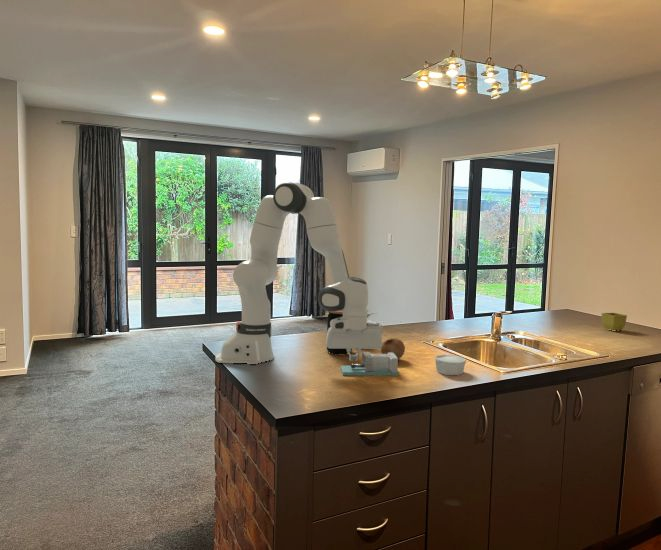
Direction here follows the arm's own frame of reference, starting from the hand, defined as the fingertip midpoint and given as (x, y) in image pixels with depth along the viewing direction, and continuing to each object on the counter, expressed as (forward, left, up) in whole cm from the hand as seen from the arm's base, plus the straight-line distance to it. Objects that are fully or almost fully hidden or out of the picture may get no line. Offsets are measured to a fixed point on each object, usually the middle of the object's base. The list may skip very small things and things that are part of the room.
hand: (353, 360), depth 177 cm
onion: (+18, +16, -5) cm, 24 cm away
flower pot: (+150, +73, -5) cm, 167 cm away
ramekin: (+36, 0, -5) cm, 36 cm away
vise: (+6, 0, -4) cm, 7 cm away
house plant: (+9, +41, -5) cm, 42 cm away
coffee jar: (-2, +28, -5) cm, 28 cm away
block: (+10, 0, -3) cm, 10 cm away
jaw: (+3, 0, -3) cm, 4 cm away
